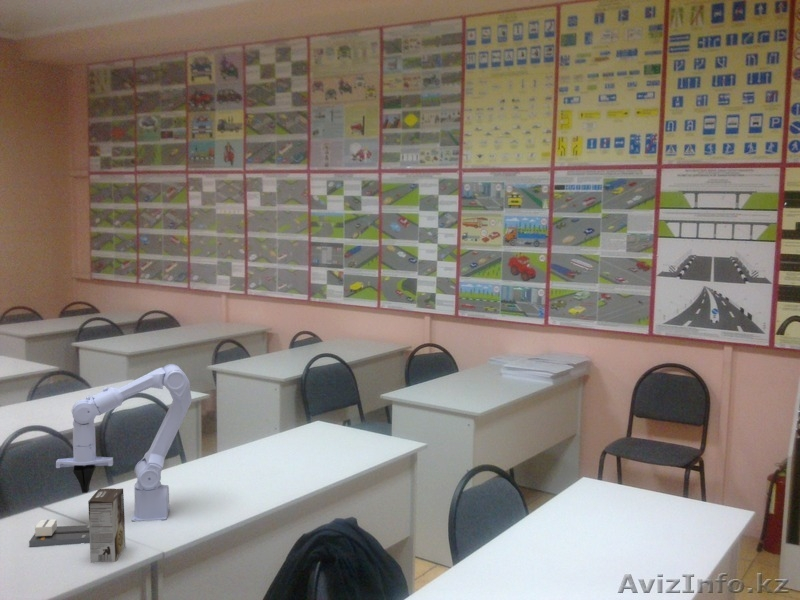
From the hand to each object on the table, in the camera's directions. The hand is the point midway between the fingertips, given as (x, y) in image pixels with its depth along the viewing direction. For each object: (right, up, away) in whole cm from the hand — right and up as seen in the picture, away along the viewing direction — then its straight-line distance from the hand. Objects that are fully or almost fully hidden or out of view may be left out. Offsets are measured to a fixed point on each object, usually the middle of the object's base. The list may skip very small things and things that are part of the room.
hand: (85, 491), depth 210 cm
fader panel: (-2, -10, -8) cm, 13 cm away
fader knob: (-6, -8, -9) cm, 14 cm away
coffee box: (+14, -12, -19) cm, 26 cm away
